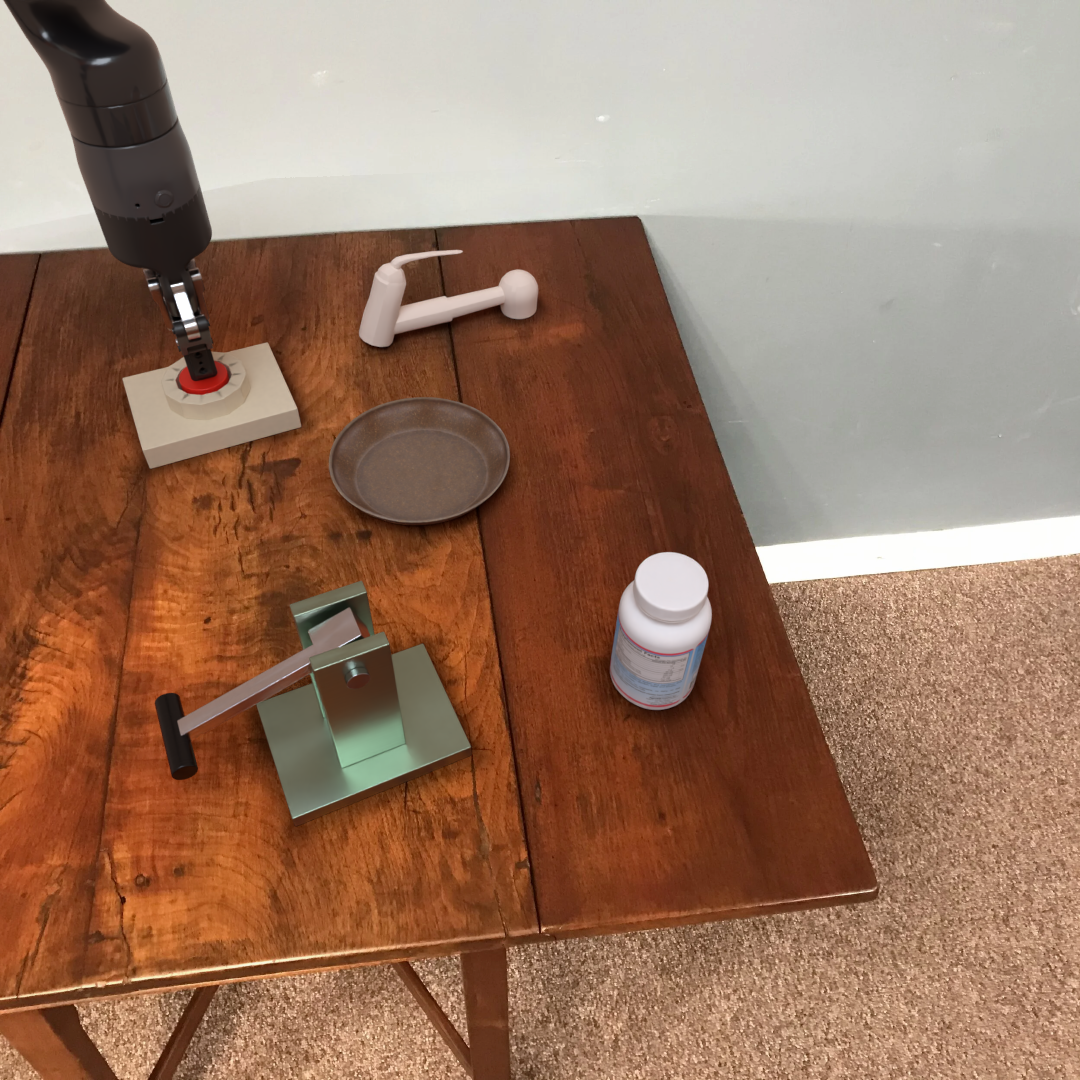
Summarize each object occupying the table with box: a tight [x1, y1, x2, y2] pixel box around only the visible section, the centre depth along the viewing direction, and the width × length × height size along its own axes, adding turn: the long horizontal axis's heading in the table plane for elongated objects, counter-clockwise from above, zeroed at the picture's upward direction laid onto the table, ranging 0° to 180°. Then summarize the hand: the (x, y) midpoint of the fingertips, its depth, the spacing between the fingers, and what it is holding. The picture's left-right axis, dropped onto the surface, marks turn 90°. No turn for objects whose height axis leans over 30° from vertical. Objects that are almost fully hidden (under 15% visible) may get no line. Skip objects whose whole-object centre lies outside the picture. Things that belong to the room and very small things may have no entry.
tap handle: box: [154, 607, 370, 781], centre depth 55 cm, size 13×5×2 cm, turn 115°
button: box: [179, 361, 230, 395], centre depth 81 cm, size 4×4×2 cm
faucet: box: [358, 249, 539, 348], centre depth 91 cm, size 4×18×10 cm, turn 114°
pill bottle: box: [609, 551, 713, 711], centre depth 63 cm, size 6×6×11 cm
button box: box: [121, 342, 302, 469], centre depth 82 cm, size 13×10×4 cm
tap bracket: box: [256, 580, 473, 827], centre depth 58 cm, size 12×9×13 cm
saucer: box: [328, 396, 511, 526], centre depth 78 cm, size 15×15×3 cm
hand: (203, 374), depth 80 cm, fingers closed
